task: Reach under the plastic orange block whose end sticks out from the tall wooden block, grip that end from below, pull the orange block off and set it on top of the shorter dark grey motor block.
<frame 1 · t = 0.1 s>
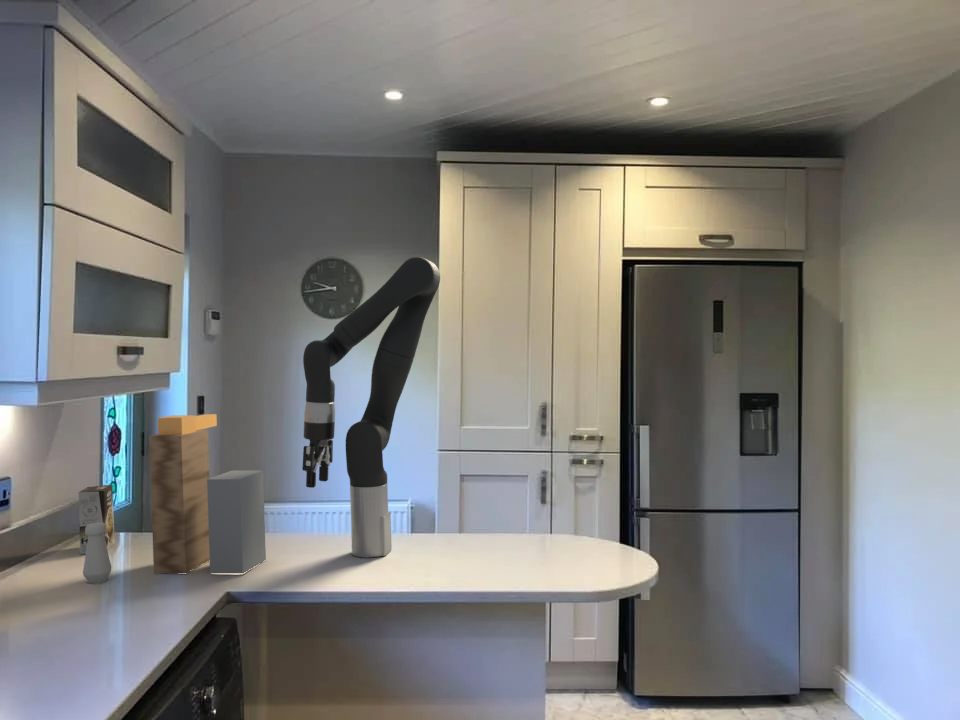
hand: (317, 484, 187), 17 cm above the counter, tool pointing down, fingers open, 8 cm apart
coffee box: (98, 549, 195), on the counter
motor block: (238, 567, 176), on the counter
orange block: (186, 431, 180), point 32 cm above the counter, touching tall wooden block
tall wooden block: (183, 566, 178), on the counter
salt shaker: (97, 581, 168), on the counter
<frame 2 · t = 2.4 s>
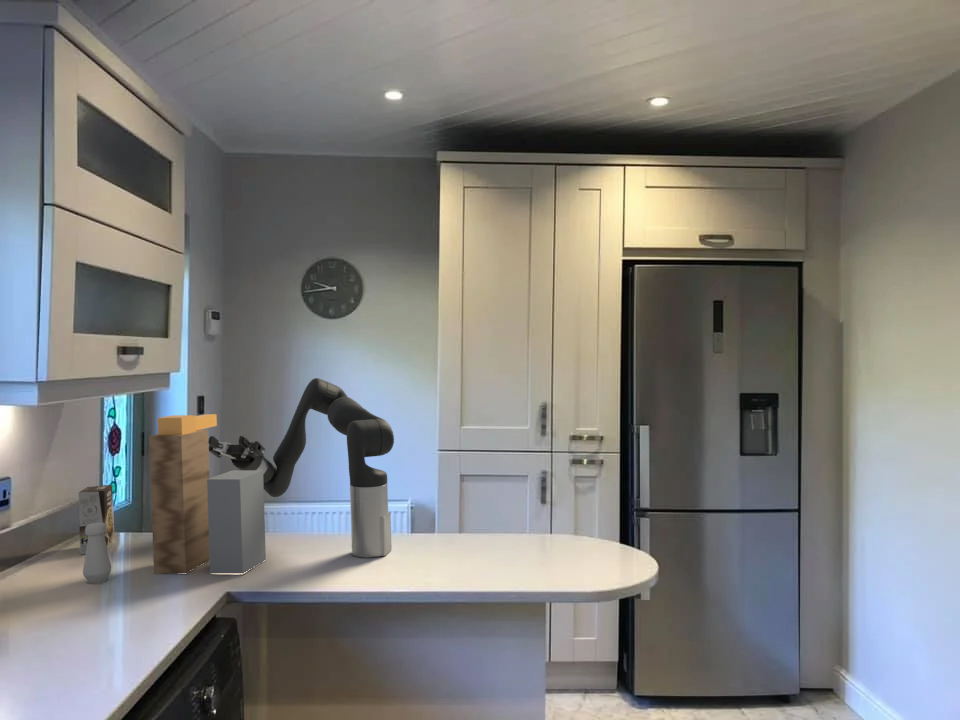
hand: (225, 439, 199), 28 cm above the counter, tool pointing upward, fingers open, 8 cm apart
nothing on the counter moved.
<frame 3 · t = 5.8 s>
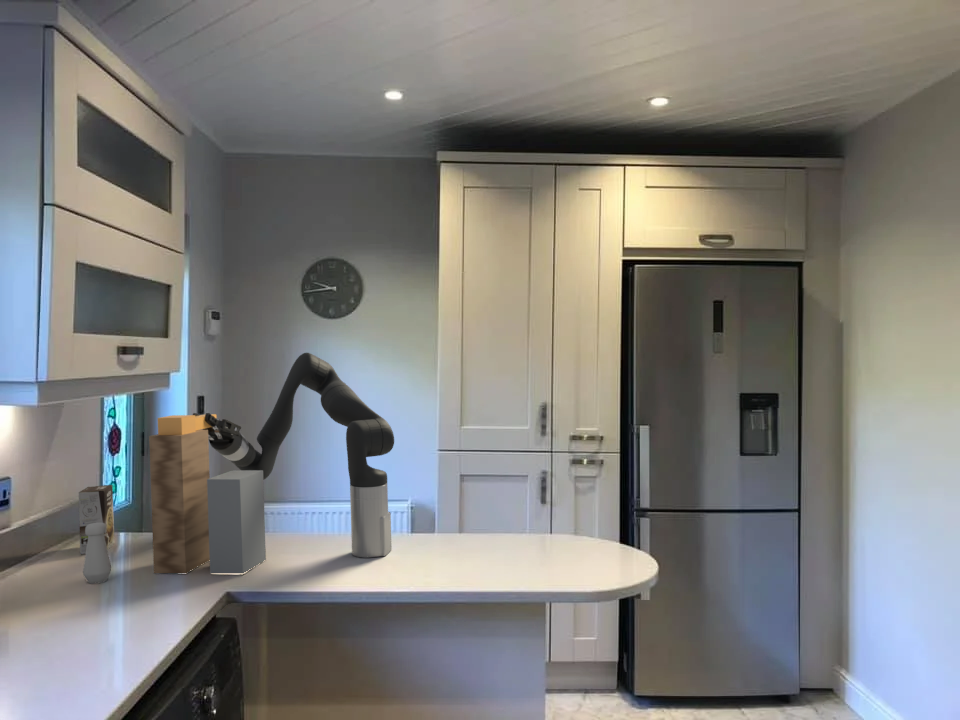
hand: (200, 416, 186), 35 cm above the counter, tool pointing upward, fingers closed on orange block, 3 cm apart
orange block: (186, 431, 180), point 32 cm above the counter, touching gripper, tall wooden block
everything else where it was.
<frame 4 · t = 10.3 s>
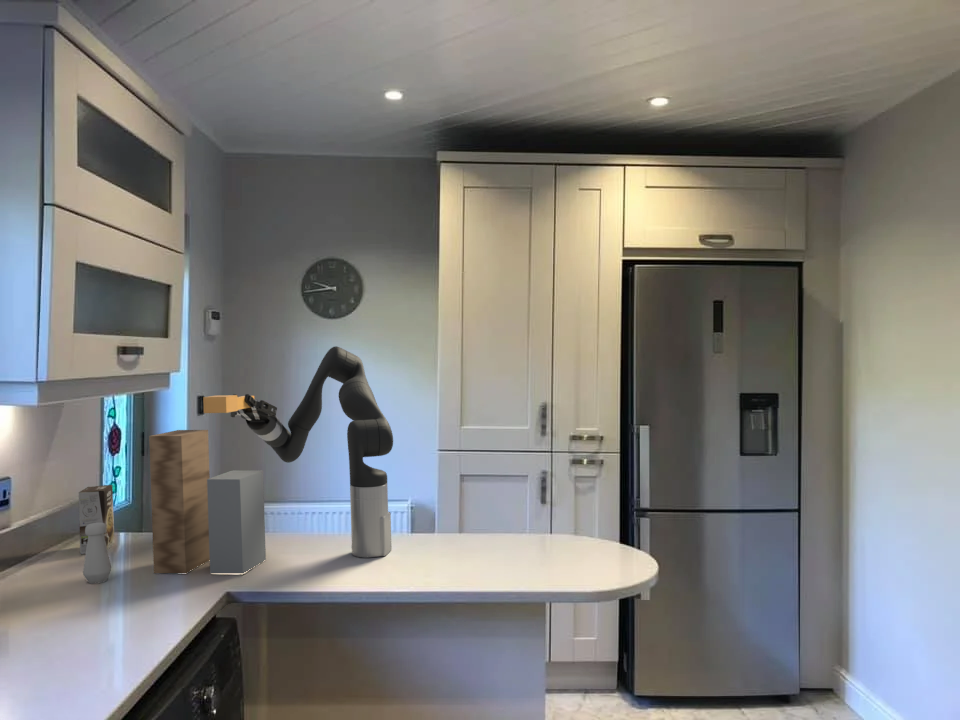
hand: (240, 397, 198), 39 cm above the counter, tool pointing upward, fingers closed on orange block, 3 cm apart
orange block: (228, 410, 192), point 36 cm above the counter, touching gripper
everything else where it was.
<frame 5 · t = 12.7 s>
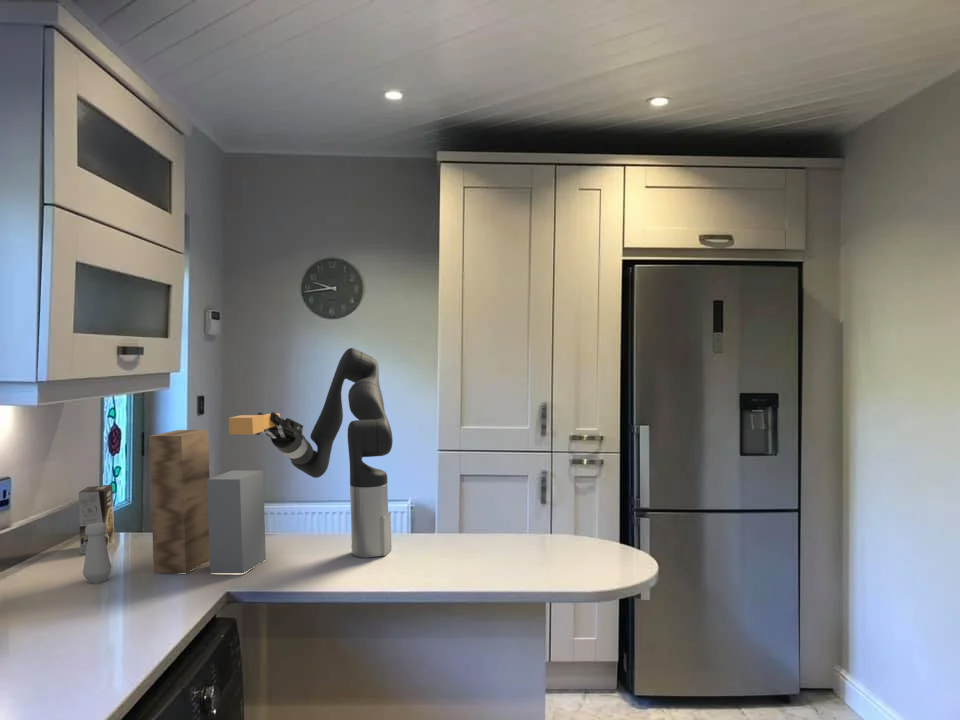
hand: (265, 415, 192), 34 cm above the counter, tool pointing upward, fingers closed on orange block, 3 cm apart
orange block: (254, 430, 185), point 31 cm above the counter, touching gripper
everything else where it was.
when the fingers open (26 cm above the counter, at t = 15.0 s): orange block stays where it is, resting on motor block.
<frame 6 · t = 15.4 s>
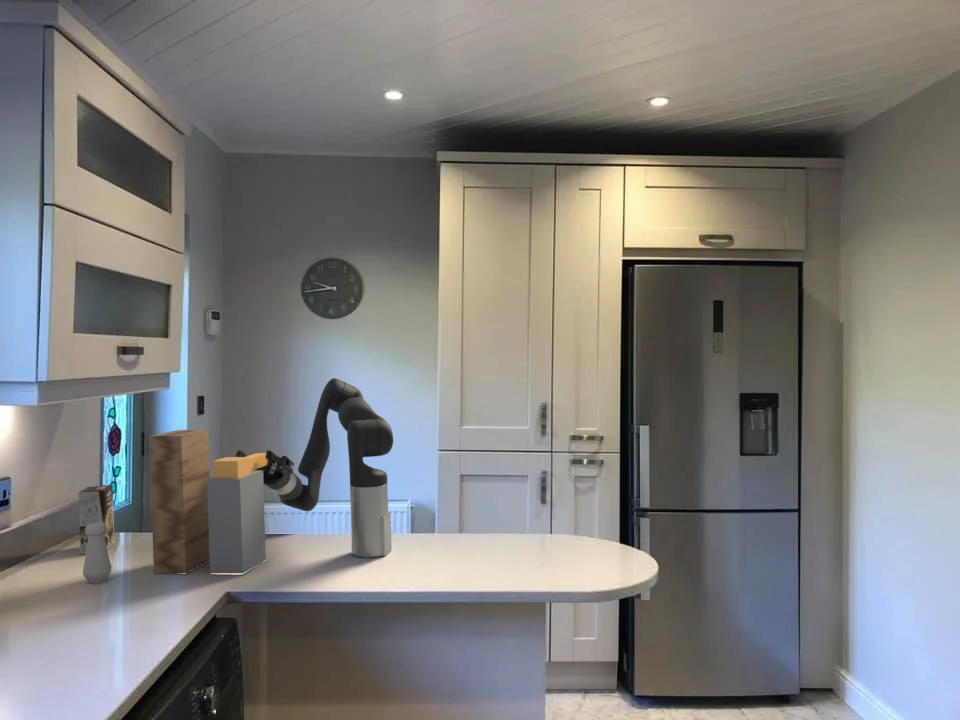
hand: (252, 453, 184), 26 cm above the counter, tool pointing upward, fingers open, 7 cm apart
orange block: (240, 473, 177), point 22 cm above the counter, touching motor block
everything else where it was.
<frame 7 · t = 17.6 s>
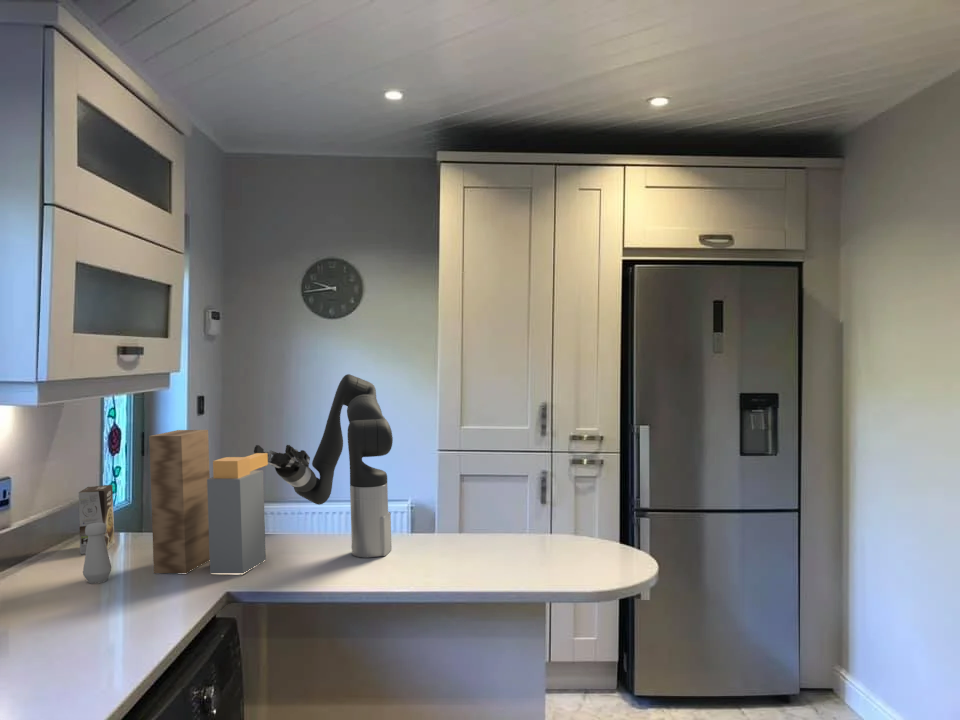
hand: (271, 448, 195), 25 cm above the counter, tool pointing upward, fingers open, 8 cm apart
nothing on the counter moved.
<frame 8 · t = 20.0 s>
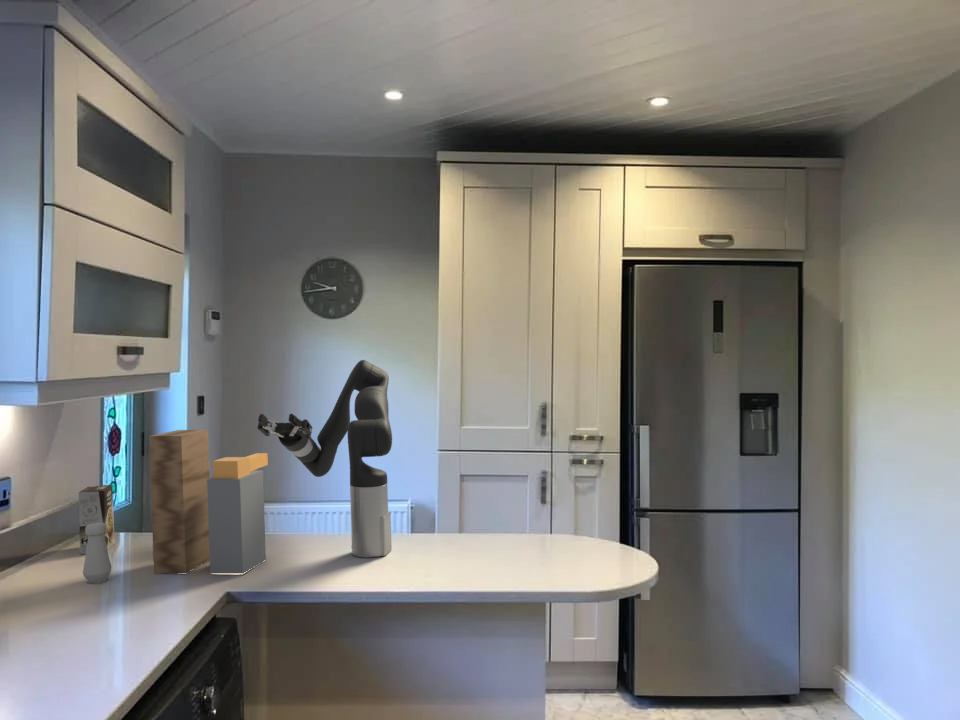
hand: (275, 417, 202), 33 cm above the counter, tool pointing upward, fingers open, 8 cm apart
nothing on the counter moved.
at the end: orange block inside the target area on the motor block (0.6 cm from its centre), point 22.0 cm above the motor block's base; orange block touching motor block; the gripper is holding nothing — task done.
